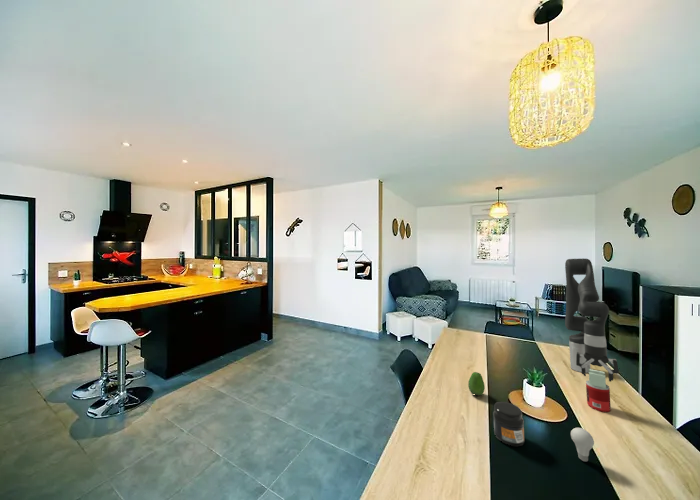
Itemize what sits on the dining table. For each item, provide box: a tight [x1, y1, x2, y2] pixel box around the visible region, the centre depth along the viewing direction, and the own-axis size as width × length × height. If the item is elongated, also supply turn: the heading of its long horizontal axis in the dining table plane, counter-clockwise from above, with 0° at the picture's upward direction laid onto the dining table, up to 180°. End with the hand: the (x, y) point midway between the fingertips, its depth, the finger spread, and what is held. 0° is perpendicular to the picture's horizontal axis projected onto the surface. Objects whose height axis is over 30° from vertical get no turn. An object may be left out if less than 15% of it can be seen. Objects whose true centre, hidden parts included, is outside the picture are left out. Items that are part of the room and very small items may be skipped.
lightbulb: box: [570, 427, 595, 462], centre depth 89 cm, size 6×6×11 cm
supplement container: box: [492, 401, 526, 447], centre depth 101 cm, size 10×10×12 cm
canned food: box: [585, 379, 612, 413], centre depth 118 cm, size 8×8×11 cm
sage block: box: [588, 368, 607, 388], centre depth 118 cm, size 6×6×6 cm
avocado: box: [467, 371, 485, 396], centre depth 132 cm, size 8×8×12 cm
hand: (597, 378), depth 118 cm, fingers open, 8 cm apart
